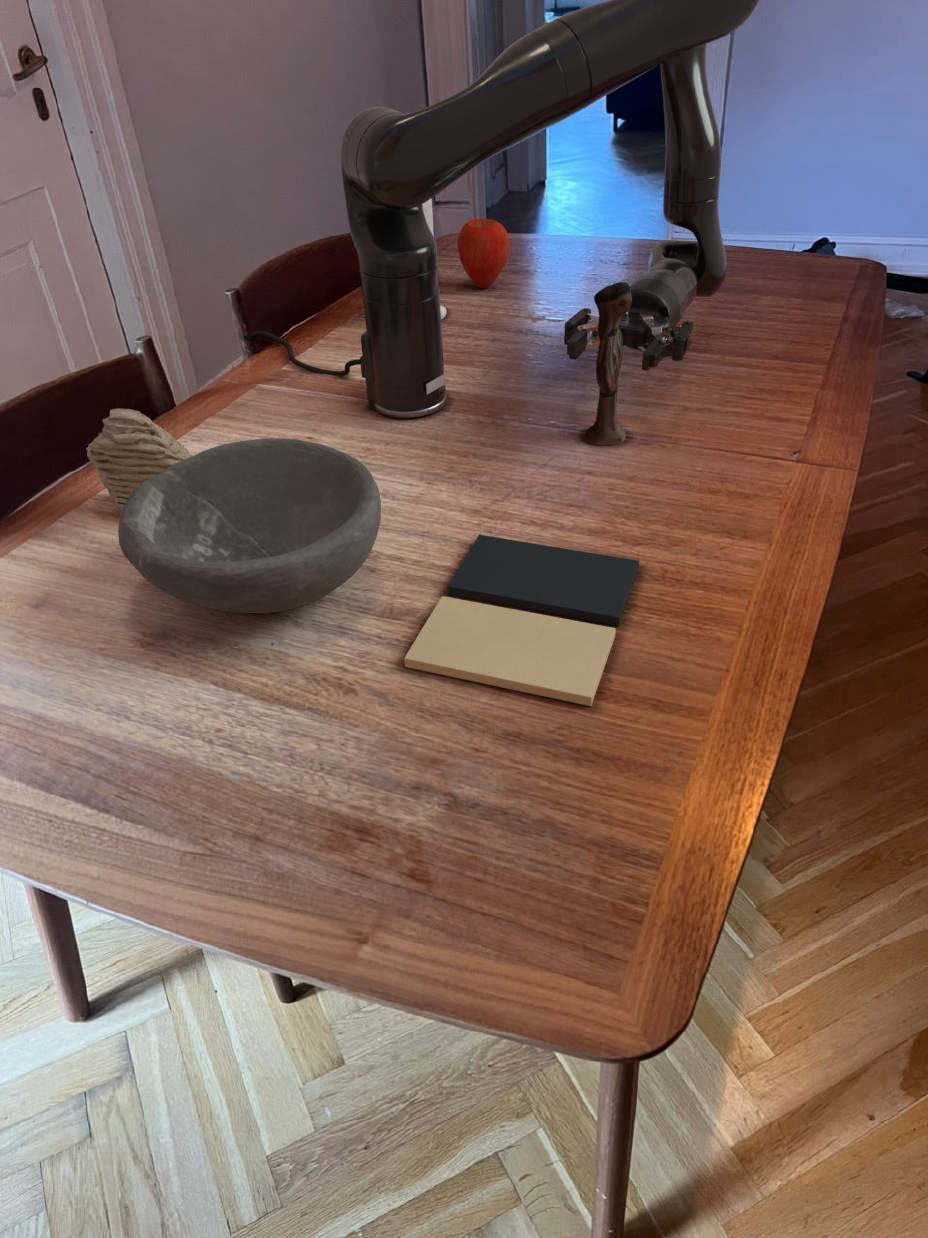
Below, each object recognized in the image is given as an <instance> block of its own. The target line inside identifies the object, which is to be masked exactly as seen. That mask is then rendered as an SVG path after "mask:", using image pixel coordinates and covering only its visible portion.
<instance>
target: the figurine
mask: <svg viewBox="0 0 928 1238" xmlns="http://www.w3.org/2000/svg"><path fill="white" fill-rule="evenodd" d="M630 286H631V285H630V284H629V283H627V282H624V281H618V282H615V283H613V284H609V285H607V286H605V287H604V288H602V289H600V290H598V291H597V292H596V293H595V294H594V296H593V300H594V304H595V306H596V308H597V311H598V317H599V324H598V335H599V340H600V344H599V348H598V349H597V355H596V361H595V378H596V382H597V387H598V388H599V389H598V390H599V393H598V402H597V409H596V410H597V411H596V418H595V421H594V423H593V424H592V425H591V426H589V427H588V428H586V430H585V431H584V433H583V440H584V441H585V442H586V443H588V444H591V445H594V446H616V445H619V444H622V443H623V442H624V441H625V439H626V437H627V433H626V431H625V430H624V428H623V427H622V426H621V424H620V423H619V420H618V416H617V404H618V401H617V400H618V385H619V376H620V371H621V366H622V363H623V362H622V361H623V353H624V352H623V350H624V349H623V346H622V344H623V337H622V333H621V331H620V329H619V328H618V326H619V323H620V321H621V319H622V317H623V316H624V315H625V314H626V312H627V311H628V310H629V309H630V307H631V304H632V296H631V289H630Z"/></svg>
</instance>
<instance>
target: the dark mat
mask: <svg viewBox="0 0 928 1238" xmlns="http://www.w3.org/2000/svg"><path fill="white" fill-rule="evenodd" d="M639 569H640V560H638V559H632V558H626V557H619V556H614V555H607V554H601V553H596V552H595V553H594V552H590V551H589V552H588V551H584V550H583V551H582V550H576V549H571V548H564V547H557V546H553V545H552V546H551V545H545V544H540V543H534V542H527V541H521V540H515V539H509V538H502V537H496V536H490V535H483V534H478V536H477V537H476V539H475V541H474V543H473V544H472V545H471V547H470V548H469V551H468V552H467V554H466V556H465V557H464V559H463V561H462V562H461V564H460V565H459V567H458V569H457V570H456V572H455V573H454V576H453V577H452V578H451V580H450V582H449V584H448V585H447V594H448V595H450V596H454V597H461V598H464V599H470V600H476V601H481V602H482V601H483V602H487V603H492V604H498V605H503V606H507V607H508V606H509V607H514V608H520V609H525V610H531V611H536V612H540V613H547V614H552V615H558V616H562V617H563V616H564V617H567V618H572V619H573V618H574V619H579V620H583V621H584V620H585V621H591V622H595V623H601V624H605V625H611V626H617V627H619V626H620V624H621V621H622V619H623V615H624V613H625V609H626V606H627V604H628V602H629V601H628V600H629V597H630V595H631V592H632V589H633V586H634V583H635V580H636V579H637V578H636V577H637V574H638V571H639Z"/></svg>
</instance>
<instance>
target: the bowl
mask: <svg viewBox="0 0 928 1238" xmlns="http://www.w3.org/2000/svg"><path fill="white" fill-rule="evenodd" d="M381 515H382V500H381V494H380V490H379V487H378V484H377V481H376V480H375V478H374V477H373V474H372V472H371V471H370V470H369V469H368V468H367V467H366V465H364V464H363V462H361V461H360V460H359V459H357V458H356V457H355V456H353V455H350V454H349V453H347V452H344V451H342V450H339V449H337V448H334V447H332V446H329V445H325V444H323V443H317V442H313V441H306V440H301V439H298V438H283V437H278V438H277V437H272V438H270V437H269V438H254V439H247V440H240V441H235V442H229V443H224V444H221V445H217V446H214V447H210V448H208V449H205V450H202V451H200V452H198V453H196V454H194V455H192V457H190V458H187V459H185V460H182V461H180V462H178V463H176V464H174V465H172V466H171V467H169V468H168V469H167V470H166V471H165V472H162V473H160V474H158V475H155V476H153V477H151V478H149V479H148V480H146V481H144V482H143V483H141V484H140V485H139V486H137V487H136V488H135V489H134V490H133V491H132V493H131V495H130V496H129V498H128V500H127V502H126V504H125V505H124V507H123V509H122V510H121V511H120V513H119V516H118V517H119V518H118V530H117V531H118V534H117V535H118V546H119V547H120V551H121V552H122V554H123V555H124V557H125V558H126V560H128V562H129V563H130V564H131V565H132V566H133V568H134V569H135V570H136V571H138V573H140V575H142V577H143V578H144V579H146V581H147V582H149V583H151V584H152V585H153V586H154V587H156V588H157V589H159V590H161V591H163V592H164V593H165V594H168V595H170V596H172V597H173V598H175V599H177V600H180V601H183V602H185V603H189V604H191V605H195V606H198V607H203V608H209V609H215V610H220V611H225V612H231V613H232V612H233V613H242V614H264V613H266V614H267V613H278V612H285V611H288V610H292V609H297V608H300V607H303V606H305V605H308V604H311V603H313V602H315V601H318V600H319V599H321V598H323V597H325V596H327V595H330V594H331V593H333V592H334V591H335V590H337V589H339V587H341V586H342V585H343V584H345V583H346V582H347V581H348V580H349V579H350V578H352V577H353V576H354V575H355V574H356V573H357V572H358V570H359V569H360V568H361V567H362V566H363V565H364V563H365V561H366V560H367V559H368V557H369V555H370V553H371V552H372V549H373V547H374V545H375V542H376V539H377V537H378V533H379V529H380V524H381V520H382V516H381Z"/></svg>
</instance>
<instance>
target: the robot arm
mask: <svg viewBox="0 0 928 1238" xmlns="http://www.w3.org/2000/svg"><path fill="white" fill-rule="evenodd" d="M759 2H760V0H606V1H602V2H599V3H596V4H592V5H589V6H586V7H583V8H579V9H576V10H573V11H571V12H568V13H565V14H563V15H561V16H559V17H557V18H555V19H553V20H550V21H549V22H547V23H545V24H544V25H541V26H539V27H538V28H536V29H534V30H532V31H530V32H528V33H527V34H525V35H523V36H522V37H520V38H518V39H517V40H516V41H514V42H513V43H511V44H510V45H508V47H506V48H505V49H504V50H503V51H502V52H501V53H499V55H498V56H497V57H496V58H495V59H494V60H493V61H492V63H490V64H489V66H488V67H487V68H486V69H485V70H484V71H483V73H482V74H481V75H480V76H478V78H477V79H475V80H474V81H473V82H472V83H471V84H469V85H467V86H466V87H465V88H463V89H462V90H460V91H459V92H457V93H455V94H453V95H451V96H449V97H446V98H445V99H442V100H440V101H438V102H436V103H433V104H431V105H429V106H426V107H423V108H421V109H418V110H415V111H411V112H407V113H405V112H402V111H400V110H397V109H394V108H391V107H387V106H371V107H367V108H365V109H363V110H360V111H359V112H358V113H357V114H355V115H354V116H353V117H352V119H351V120H350V121H349V123H348V124H347V125H346V128H345V130H344V132H343V135H342V138H341V143H340V157H339V158H340V172H341V181H342V188H343V194H344V201H345V210H346V214H347V222H348V228H349V234H350V237H351V241H352V243H353V246H354V249H355V251H356V255H357V260H358V267H359V268H358V269H359V276H360V284H361V285H360V286H361V294H362V302H363V312H364V322H365V329H366V330H365V331H364V332H363V333H362V334H361V336H360V344H361V345H360V347H361V355H360V357H359V358H356V359H351V360H348V361H347V362H346V363H345V364H344V369H343V370H329V369H323V368H319V367H315V366H312V365H309V364H307V363H304V362H302V361H299V360H298V359H296V358H295V355H294V351H293V350H294V349H293V347H292V345H291V344H290V343H289V342H288V341H287V340H285V339H283V338H281V337H279V336H277V335H275V334H273V333H270V332H268V331H263V330H256V331H255V330H254V331H252V332H251V333H250V334H249V335H248V336H247V339H246V340H247V341H248V340H249V341H252V340H253V339H254V338H256V337H265V338H268V339H270V340H271V341H275V342H276V343H279V344H280V345H282V346H283V347H285V348H286V350H287V357H288V359H289V361H290V362H291V363H292V364H293V365H294V366H296V367H298V368H301V369H302V370H306V371H309V372H311V373H316V374H319V375H328V376H335V377H345V376H348V375H349V374H350V371H351V367H354V366H359V365H360V373H361V378H363V379H364V380H365V381H364V382H365V388H366V396H367V397H366V398H367V406H368V409H372V410H376V411H377V412H378V413H379V414H382V415H384V416H388V417H391V418H399V419H412V418H420V417H425V416H428V415H431V414H434V413H436V412H438V411H440V410H441V409H442V408H444V407H445V405H446V403H447V391H446V384H447V383H446V373H445V363H444V362H445V361H444V360H445V359H444V343H443V328H442V319H441V308H440V305H441V293H440V276H439V275H440V274H439V258H438V257H439V256H438V246H437V245H438V244H437V241H436V238H435V235H434V236H433V234H432V232H431V231H430V229H429V227H428V224H427V222H426V219H425V216H424V212H423V206H422V204H423V203H425V202H427V201H428V200H430V199H431V198H432V199H433V198H435V197H437V195H438V194H440V193H442V192H443V191H445V190H446V189H447V188H448V187H449V186H451V185H453V184H454V183H455V182H457V181H458V180H459V179H461V178H462V177H464V176H465V175H466V174H468V173H469V172H471V171H472V170H473V169H475V168H476V167H478V166H479V165H481V164H482V163H484V162H485V161H487V160H489V159H491V158H492V157H495V156H496V155H499V154H501V153H502V152H503V151H506V150H509V149H510V148H512V147H515V146H516V145H518V144H520V143H521V142H524V141H525V140H527V139H529V138H531V137H533V136H535V135H536V134H539V133H540V132H543V131H544V130H546V129H548V128H550V127H552V126H555V125H557V124H558V123H560V122H563V121H565V120H566V119H568V118H570V117H571V116H574V115H576V114H577V113H579V112H581V111H582V110H585V109H586V108H587V107H589V106H591V105H593V104H594V103H596V102H597V101H599V100H601V99H602V98H604V97H606V96H607V95H609V94H612V93H614V92H615V91H616V90H618V89H620V88H622V87H624V86H626V85H628V84H629V83H630V82H632V81H634V80H636V79H638V78H639V77H641V76H642V75H645V74H646V73H647V72H649V71H650V70H652V69H654V68H655V67H657V66H659V67H660V68H659V69H660V79H661V90H662V102H663V114H664V115H663V116H664V132H665V133H664V136H665V137H664V141H665V144H664V145H665V148H664V156H665V157H664V176H663V194H662V195H663V202H662V215H663V218H664V220H665V221H666V222H667V223H669V224H670V225H673V226H676V227H679V228H683V229H684V230H688V231H690V232H691V233H692V234H693V235H694V237H695V239H696V240H680V239H670V240H669V239H668V240H664V241H663V240H662V241H661V242H659V243H657V244H656V245H654V247H653V248H652V250H651V252H650V254H649V257H648V262H647V271H646V272H645V273H644V274H642V275H641V276H640V277H638V278H637V279H636V280H634V281H633V283H632V284H630V285H629V286H630V289H631V296H632V304H631V307H630V309H629V310H628V311H627V312H626V314H625V315H624V316H623V317H622V319H621V321H620V323H619V326H618V328H619V329H620V331H621V333H622V337H623V344H622V347H623V346H625V347H627V348H629V349H632V350H634V351H640V352H641V351H642V352H643V353H642V362H641V363H642V364H641V371H645V372H649V371H650V370H651V369H652V368H653V369H654V368H656V367H658V366H659V364H660V363H661V362H662V361H666V359H667V357H671V360H672V361H676V362H680V361H682V360H683V359H684V358H685V356H686V354H687V352H688V350H689V348H690V347H691V345H692V339H693V333H694V332H693V331H694V322H693V321H690V320H685V321H683V322H682V323H681V324H679V323H680V322H681V320H682V318H683V317H684V314H685V312H686V311H687V310H688V308H689V307H690V306H691V304H692V303H693V301H694V300H695V298H710V297H712V296H714V295H716V294H717V293H718V292H719V291H720V290H721V289H722V286H723V285H724V282H725V280H726V277H727V270H728V269H727V268H728V263H727V255H726V250H725V246H724V240H723V236H722V231H721V225H720V215H719V197H720V196H719V195H720V182H721V173H722V172H721V171H722V144H721V137H720V131H719V127H718V124H717V120H716V115H715V111H714V108H713V105H712V104H713V103H712V101H711V95H710V90H709V86H708V84H709V83H708V78H707V63H706V62H707V60H706V59H707V57H706V56H707V46H708V44H710V43H713V42H715V41H718V40H720V39H723V38H725V37H727V36H729V35H731V34H733V33H734V32H736V31H737V30H738V29H739V28H740V27H742V26H743V25H744V24H745V23H746V22H747V21H748V20H749V18H751V16H752V15H753V13H754V11H755V9H756V8H757V6H758V4H759ZM598 324H599V316H596V315H592V309H591V308H588V307H584V308H581V309H580V310H579V311H577V312H576V313H574V315H572V316H571V317H570V318H569V319H568V320H566V321H565V322H564V332H563V334H564V336H563V344H564V345H565V346H566V355H567V356H568V359H569V360H572V361H577V360H578V358H580V356H581V355H583V353H584V352H585V351H586V350H587V349H590V348H596V349H597V350H598V348H599V344H600V340H599V335H598ZM590 334H591V338H589V339H588V335H590ZM669 338H672V340H671V339H669Z"/></svg>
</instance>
